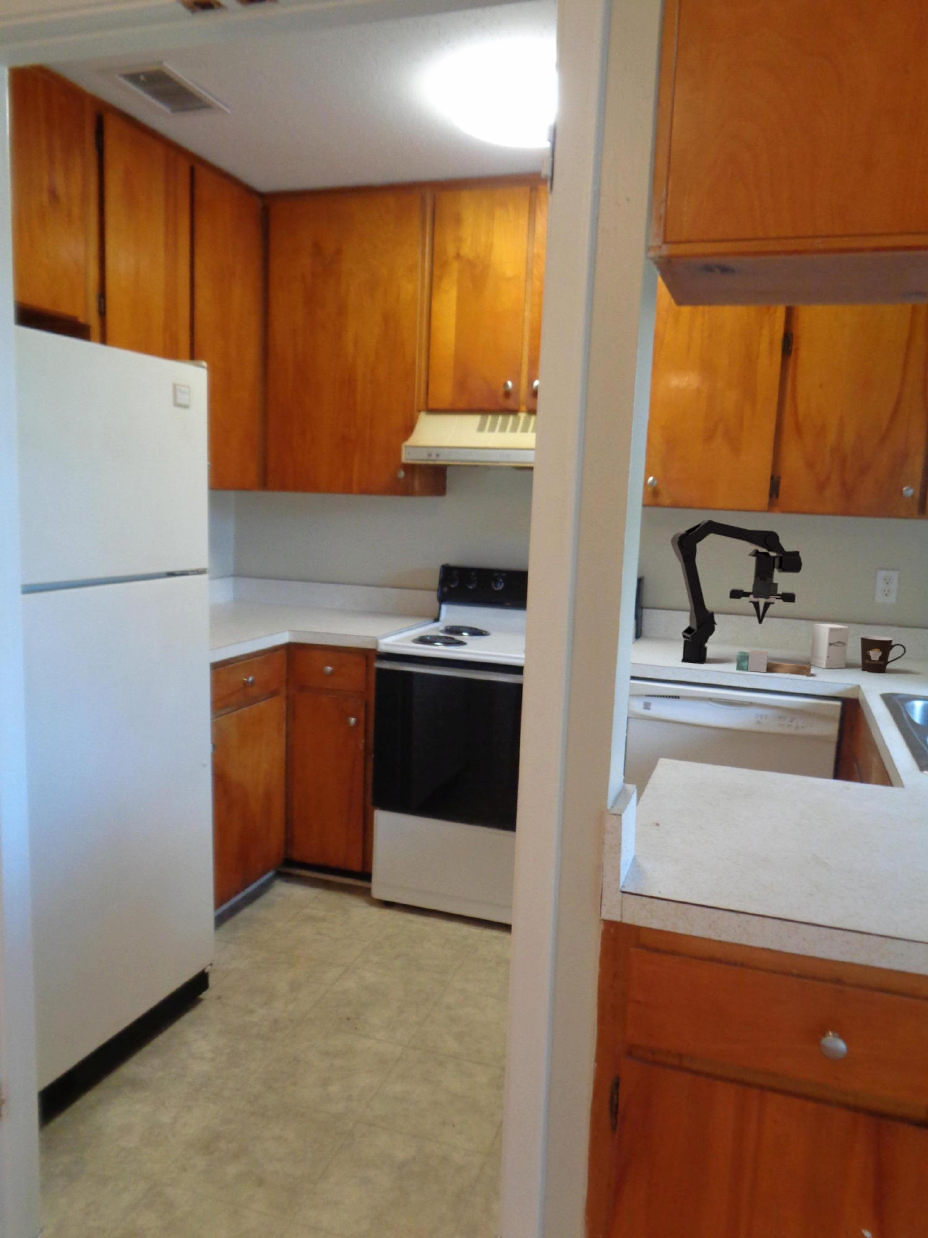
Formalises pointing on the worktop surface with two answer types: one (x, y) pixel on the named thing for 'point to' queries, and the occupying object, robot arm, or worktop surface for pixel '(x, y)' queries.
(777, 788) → the worktop surface
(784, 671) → the track
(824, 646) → the supplement box
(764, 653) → the block
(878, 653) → the coffee mug
